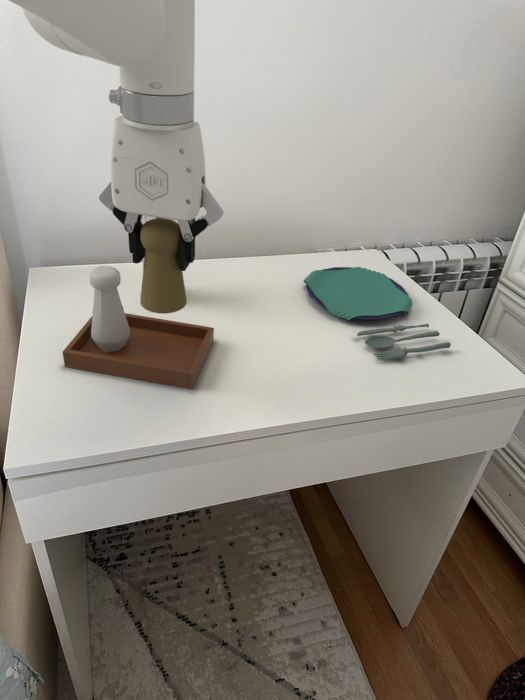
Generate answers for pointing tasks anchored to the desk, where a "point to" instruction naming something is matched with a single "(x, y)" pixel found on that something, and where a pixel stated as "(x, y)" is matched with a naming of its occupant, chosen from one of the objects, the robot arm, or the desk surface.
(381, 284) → the cutlery set
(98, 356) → the tray
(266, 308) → the desk surface
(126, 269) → the desk surface
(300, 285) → the desk surface
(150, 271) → the pepper shaker
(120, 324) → the salt shaker
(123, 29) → the robot arm
